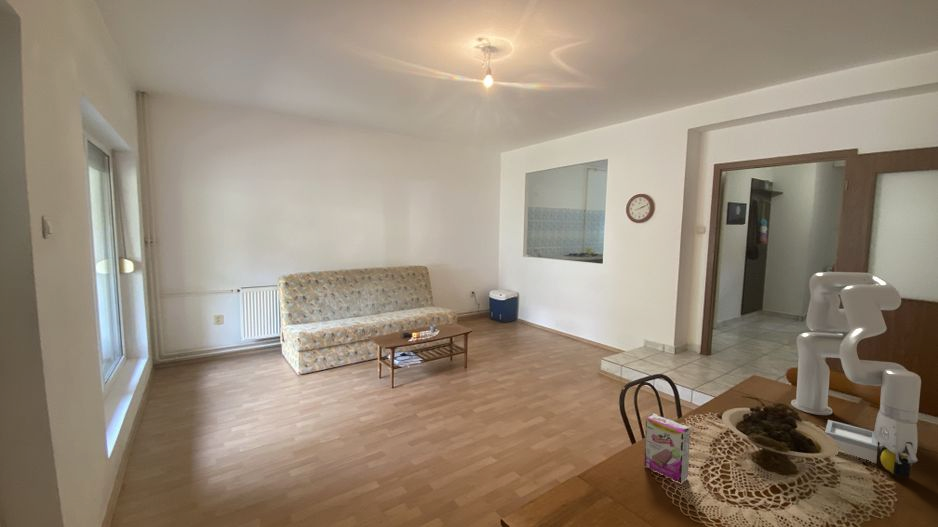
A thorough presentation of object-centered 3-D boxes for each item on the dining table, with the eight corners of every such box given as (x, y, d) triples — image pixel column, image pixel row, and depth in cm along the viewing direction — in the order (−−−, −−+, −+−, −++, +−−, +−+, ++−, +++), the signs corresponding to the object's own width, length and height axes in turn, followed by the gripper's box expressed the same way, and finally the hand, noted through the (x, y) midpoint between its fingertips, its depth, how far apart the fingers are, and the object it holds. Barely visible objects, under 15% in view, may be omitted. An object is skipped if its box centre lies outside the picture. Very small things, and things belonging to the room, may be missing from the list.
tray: (827, 434, 136) (828, 419, 135) (876, 448, 127) (877, 432, 127) (823, 447, 128) (825, 431, 127) (876, 463, 119) (877, 446, 119)
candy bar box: (643, 468, 118) (644, 417, 117) (651, 462, 121) (653, 412, 120) (681, 487, 109) (683, 432, 108) (688, 480, 112) (691, 426, 111)
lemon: (898, 470, 116) (900, 445, 115) (912, 481, 110) (914, 455, 110) (874, 466, 117) (876, 441, 117) (887, 477, 112) (889, 451, 112)
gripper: (863, 398, 122) (859, 452, 123) (902, 423, 106) (897, 485, 107) (894, 401, 119) (890, 456, 121) (939, 428, 103) (933, 491, 105)
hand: (893, 469), depth 114 cm, fingers closed on lemon, 5 cm apart
